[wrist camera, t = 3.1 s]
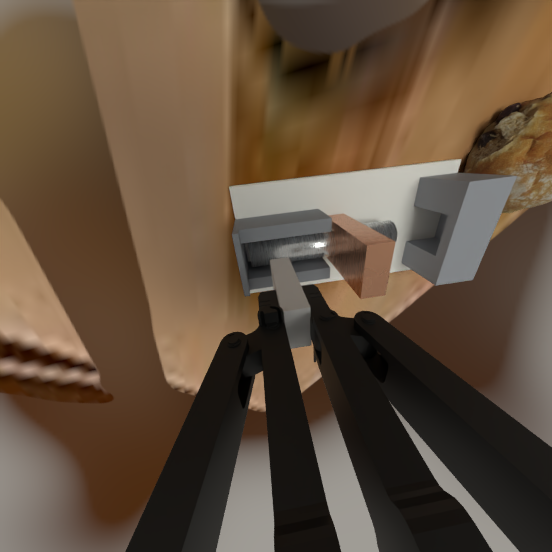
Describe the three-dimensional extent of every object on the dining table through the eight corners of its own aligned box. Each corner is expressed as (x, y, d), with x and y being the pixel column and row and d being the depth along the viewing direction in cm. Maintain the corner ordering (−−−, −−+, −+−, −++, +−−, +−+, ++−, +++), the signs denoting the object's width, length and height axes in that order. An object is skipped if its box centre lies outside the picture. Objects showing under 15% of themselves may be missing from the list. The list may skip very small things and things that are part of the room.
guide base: (229, 186, 20) (222, 195, 15) (452, 159, 21) (524, 158, 16) (249, 288, 26) (250, 323, 20) (423, 263, 27) (468, 289, 22)
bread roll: (430, 203, 27) (481, 245, 23) (464, 115, 19) (555, 153, 14) (507, 170, 26) (577, 206, 22) (578, 63, 18) (715, 84, 13)
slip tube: (246, 226, 21) (245, 262, 13) (381, 208, 22) (452, 233, 14) (253, 264, 23) (255, 315, 16) (375, 247, 24) (435, 287, 16)
